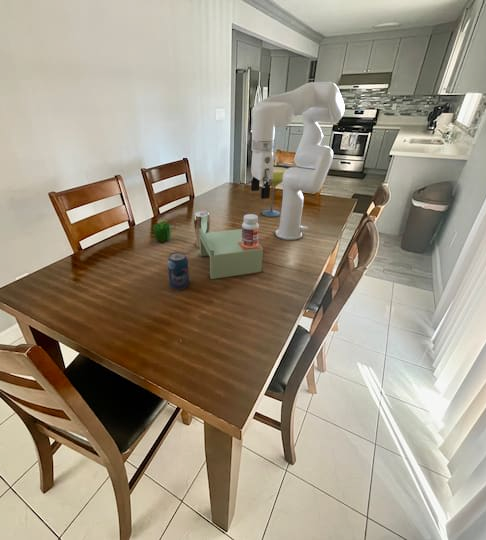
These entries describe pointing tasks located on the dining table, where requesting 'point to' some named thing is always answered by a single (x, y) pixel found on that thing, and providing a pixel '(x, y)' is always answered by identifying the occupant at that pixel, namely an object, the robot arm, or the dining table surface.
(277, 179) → the cocktail glass
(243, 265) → the shelf
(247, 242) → the pill bottle
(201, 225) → the beer glass
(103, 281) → the dining table surface
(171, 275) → the soda can
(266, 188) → the robot arm
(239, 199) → the dining table surface
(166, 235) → the bell pepper
